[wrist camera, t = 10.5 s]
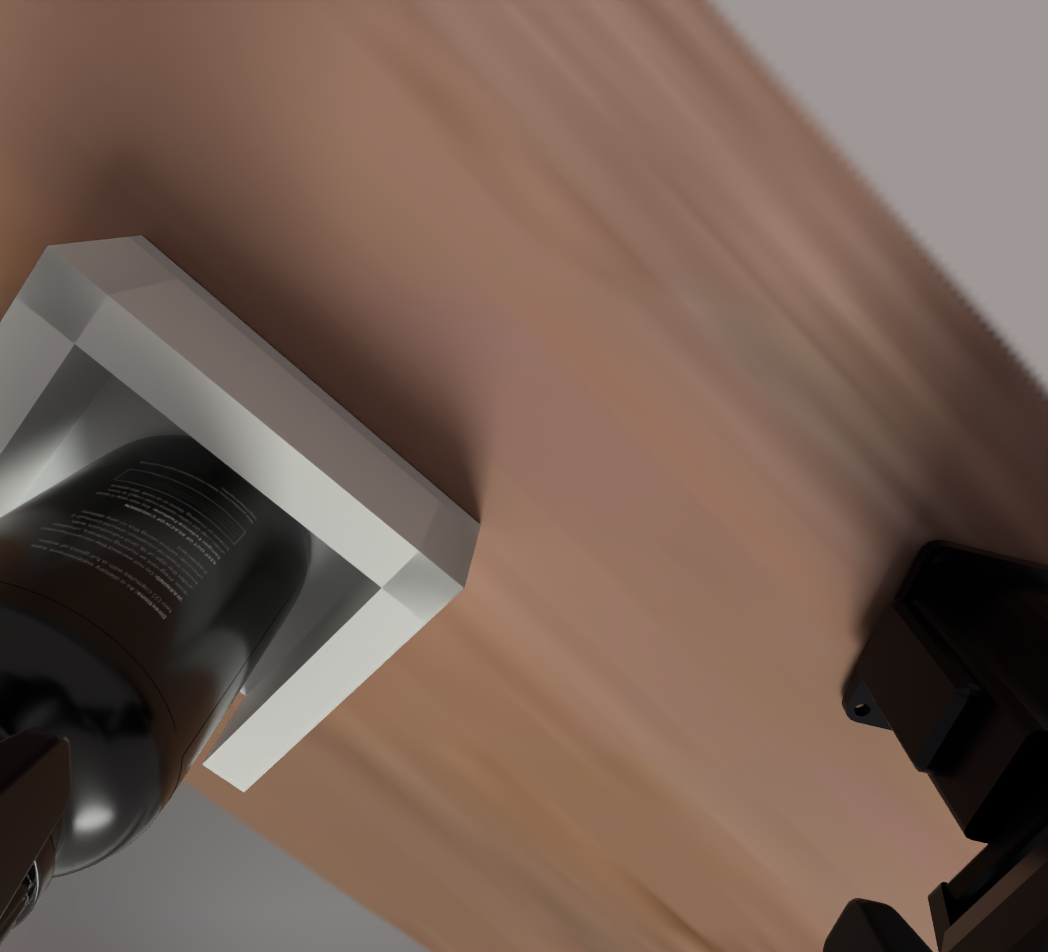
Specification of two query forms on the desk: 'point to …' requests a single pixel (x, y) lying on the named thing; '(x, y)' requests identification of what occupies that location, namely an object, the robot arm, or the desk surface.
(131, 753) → the supplement bottle
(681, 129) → the desk surface
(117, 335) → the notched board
